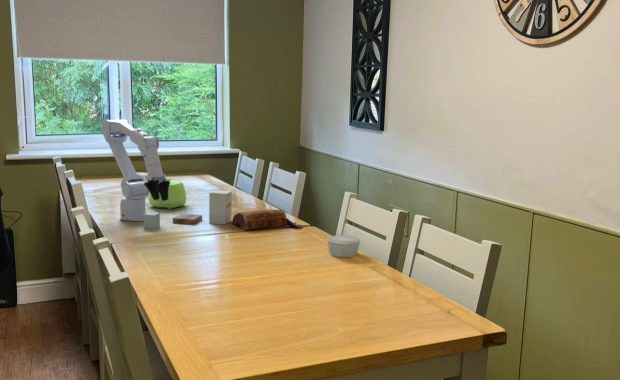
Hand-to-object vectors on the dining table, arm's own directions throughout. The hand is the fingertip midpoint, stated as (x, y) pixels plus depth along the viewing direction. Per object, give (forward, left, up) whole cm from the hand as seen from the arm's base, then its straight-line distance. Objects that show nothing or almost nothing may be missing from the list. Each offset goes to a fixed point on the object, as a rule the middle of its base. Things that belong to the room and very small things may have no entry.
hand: (161, 199), depth 230 cm
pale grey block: (-3, -1, -11) cm, 11 cm away
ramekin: (+74, -17, -11) cm, 76 cm away
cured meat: (+40, +15, -12) cm, 44 cm away
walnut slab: (+6, +13, -11) cm, 18 cm away
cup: (-40, +67, -11) cm, 79 cm away
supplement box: (+19, +16, -11) cm, 27 cm away
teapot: (-16, +39, -11) cm, 44 cm away
